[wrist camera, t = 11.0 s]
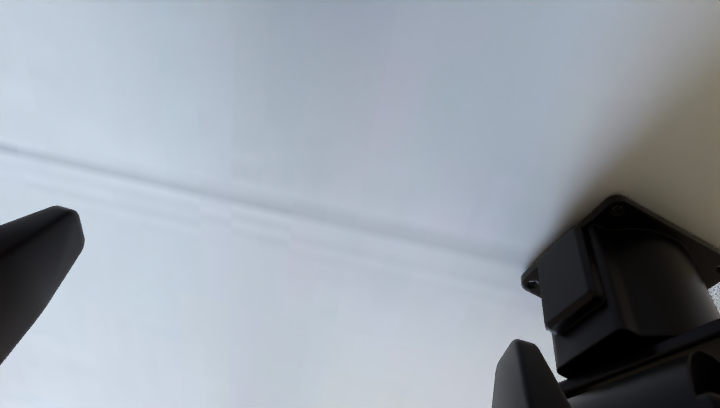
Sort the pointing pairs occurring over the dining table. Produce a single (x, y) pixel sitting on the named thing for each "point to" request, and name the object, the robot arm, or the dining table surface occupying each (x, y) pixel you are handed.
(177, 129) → the dining table surface
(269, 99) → the dining table surface
